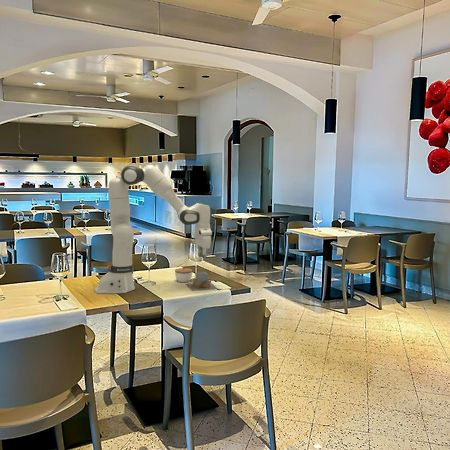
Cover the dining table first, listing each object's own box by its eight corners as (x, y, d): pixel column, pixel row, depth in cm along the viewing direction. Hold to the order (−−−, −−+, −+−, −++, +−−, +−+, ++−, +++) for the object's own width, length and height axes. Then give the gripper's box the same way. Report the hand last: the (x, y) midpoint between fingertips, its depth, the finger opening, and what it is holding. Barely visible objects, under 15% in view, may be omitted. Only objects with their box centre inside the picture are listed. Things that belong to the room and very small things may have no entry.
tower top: (198, 281, 252) (198, 274, 251) (195, 279, 257) (195, 272, 257) (208, 280, 254) (208, 274, 253) (205, 278, 259) (205, 271, 259)
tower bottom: (196, 288, 251) (197, 282, 251) (193, 285, 259) (193, 278, 258) (210, 287, 254) (210, 281, 253) (206, 284, 261) (206, 278, 261)
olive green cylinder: (199, 257, 251) (199, 249, 250) (197, 255, 255) (197, 247, 255) (207, 257, 252) (207, 248, 252) (205, 255, 257) (205, 247, 257)
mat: (192, 292, 246) (192, 291, 246) (185, 285, 261) (185, 284, 261) (218, 290, 251) (218, 289, 251) (210, 283, 266) (210, 282, 266)
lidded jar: (193, 280, 274) (193, 265, 272) (190, 284, 263) (190, 269, 262) (176, 279, 275) (177, 265, 274) (173, 283, 264) (173, 268, 263)
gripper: (192, 228, 261) (192, 250, 262) (202, 232, 242) (201, 257, 243) (202, 228, 263) (202, 250, 265) (213, 232, 244) (212, 256, 245)
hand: (202, 253), depth 254 cm, fingers closed on olive green cylinder, 5 cm apart
